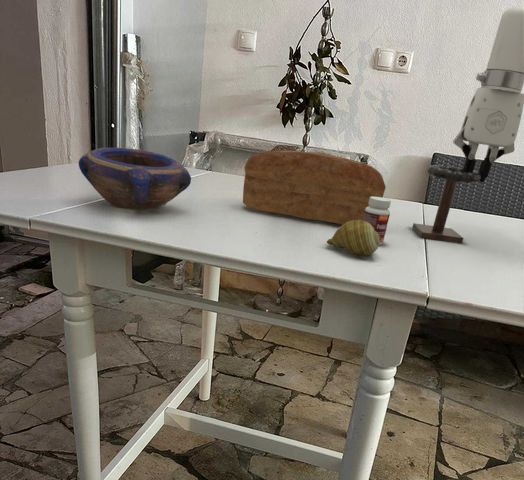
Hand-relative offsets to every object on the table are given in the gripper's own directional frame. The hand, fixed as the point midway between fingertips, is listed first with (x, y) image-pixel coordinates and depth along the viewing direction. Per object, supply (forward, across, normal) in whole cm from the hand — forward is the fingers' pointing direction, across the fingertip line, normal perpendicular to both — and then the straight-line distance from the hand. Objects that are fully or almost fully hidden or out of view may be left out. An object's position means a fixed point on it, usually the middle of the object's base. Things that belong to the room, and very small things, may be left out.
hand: (473, 179), depth 107 cm
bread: (+13, -33, +1) cm, 36 cm away
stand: (+13, -4, 0) cm, 13 cm away
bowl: (+13, -68, -13) cm, 71 cm away
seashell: (+13, -26, -25) cm, 39 cm away
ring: (-1, -4, 0) cm, 4 cm away
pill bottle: (+13, -21, -15) cm, 29 cm away
